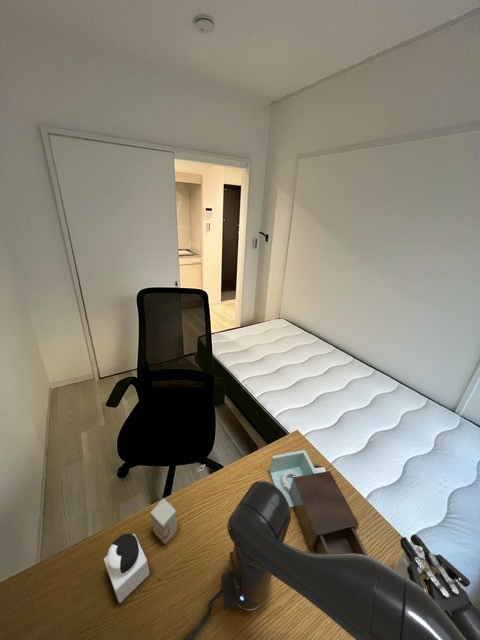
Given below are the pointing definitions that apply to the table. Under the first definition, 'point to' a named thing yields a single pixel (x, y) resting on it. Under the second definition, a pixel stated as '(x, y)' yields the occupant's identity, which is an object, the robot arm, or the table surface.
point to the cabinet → (320, 506)
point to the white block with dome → (126, 565)
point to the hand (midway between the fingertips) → (407, 537)
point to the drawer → (340, 542)
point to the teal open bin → (290, 470)
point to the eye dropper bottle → (408, 561)
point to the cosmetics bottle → (164, 520)
